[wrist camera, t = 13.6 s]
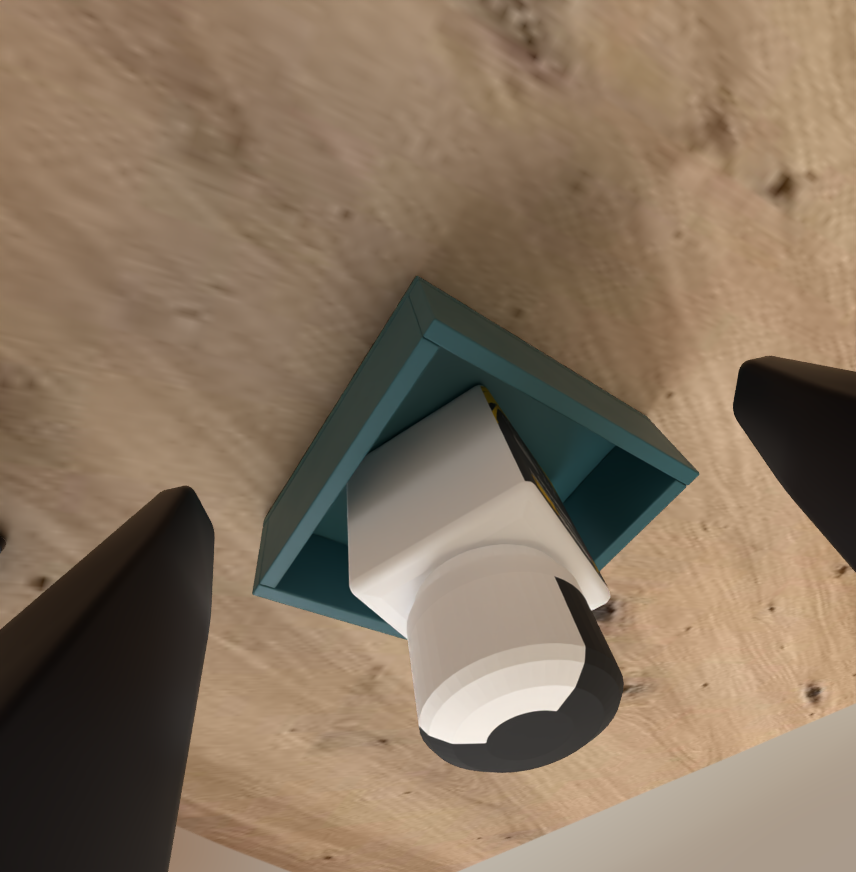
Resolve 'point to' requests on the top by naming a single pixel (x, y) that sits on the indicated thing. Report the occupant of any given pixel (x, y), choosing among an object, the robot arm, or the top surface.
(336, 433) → the desk bin
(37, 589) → the top surface
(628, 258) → the top surface
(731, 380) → the top surface
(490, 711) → the medicine bottle
